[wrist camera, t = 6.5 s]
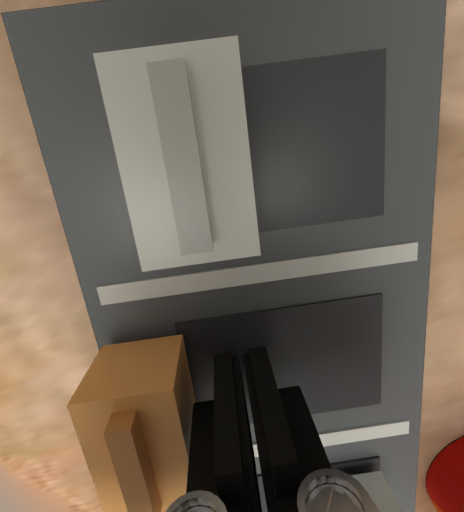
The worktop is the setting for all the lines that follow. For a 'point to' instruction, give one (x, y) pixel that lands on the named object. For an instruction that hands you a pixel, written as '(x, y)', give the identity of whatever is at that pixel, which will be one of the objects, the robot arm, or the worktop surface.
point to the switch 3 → (379, 491)
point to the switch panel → (271, 203)
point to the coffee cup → (447, 478)
